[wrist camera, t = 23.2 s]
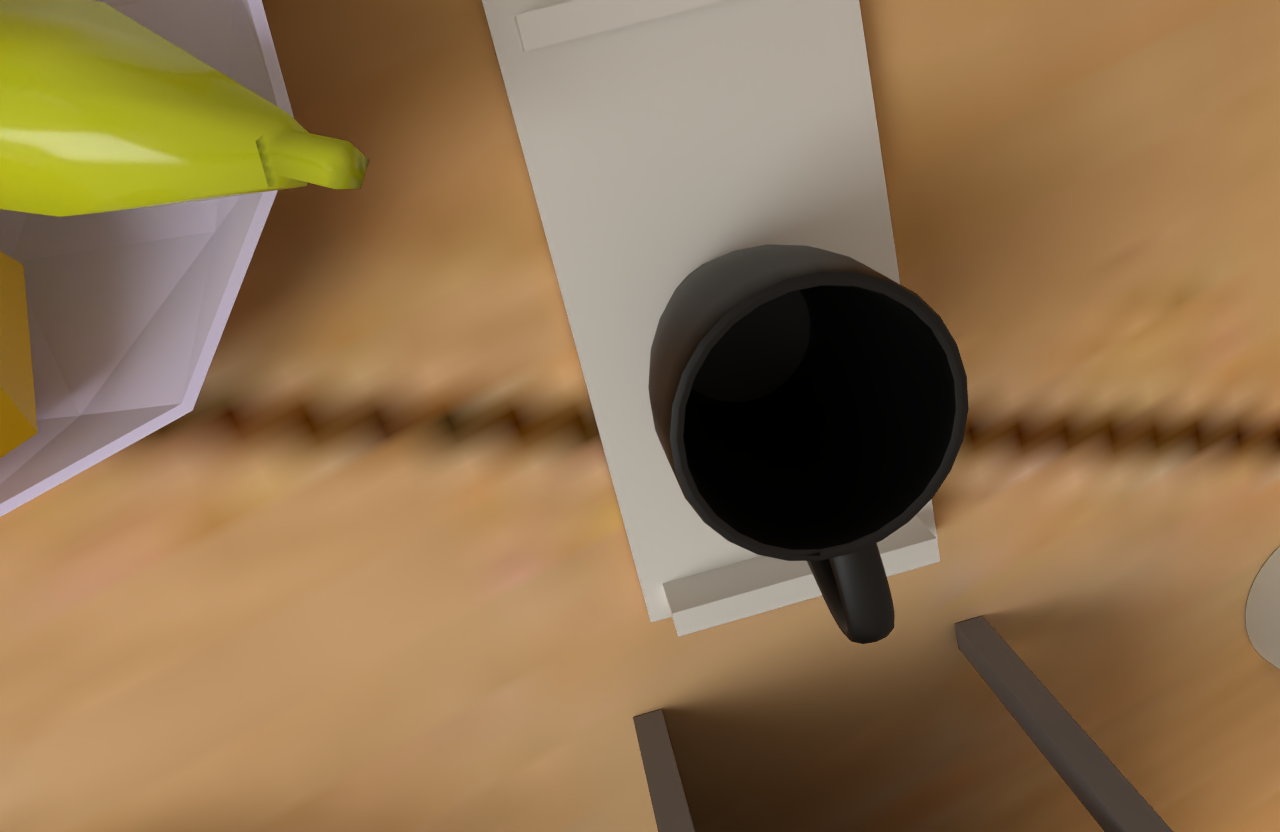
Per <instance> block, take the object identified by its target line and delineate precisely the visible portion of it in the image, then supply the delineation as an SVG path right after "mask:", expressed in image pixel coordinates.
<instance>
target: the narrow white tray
mask: <svg viewBox="0 0 1280 832" xmlns="http://www.w3.org/2000/svg"><path fill="white" fill-rule="evenodd" d="M482 3H483V7H484V11H485V14H486V18H487V22H488V25H489V29H490V33H491V36H492V40H493V44H494V47H495V51H496V55H497V58H498V62H499V66H500V69H501V73H502V77H503V81H504V84H505V88H506V92H507V95H508V99H509V103H510V106H511V110H512V114H513V117H514V121H515V125H516V128H517V132H518V136H519V139H520V143H521V147H522V150H523V154H524V158H525V161H526V165H527V169H528V173H529V176H530V180H531V184H532V187H533V191H534V195H535V198H536V202H537V206H538V209H539V213H540V217H541V220H542V224H543V228H544V231H545V235H546V239H547V242H548V246H549V250H550V253H551V257H552V261H553V265H554V268H555V272H556V276H557V279H558V283H559V287H560V290H561V294H562V298H563V301H564V305H565V309H566V312H567V316H568V320H569V323H570V327H571V331H572V334H573V338H574V342H575V346H576V349H577V353H578V357H579V360H580V364H581V368H582V371H583V375H584V379H585V382H586V386H587V390H588V393H589V397H590V401H591V404H592V408H593V412H594V415H595V419H596V423H597V426H598V430H599V434H600V438H601V441H602V445H603V449H604V452H605V456H606V460H607V463H608V467H609V471H610V474H611V478H612V482H613V485H614V489H615V493H616V496H617V500H618V504H619V507H620V511H621V515H622V518H623V522H624V526H625V530H626V533H627V537H628V541H629V544H630V548H631V552H632V555H633V559H634V563H635V566H636V570H637V574H638V577H639V581H640V585H641V588H642V592H643V596H644V599H645V603H646V607H647V611H648V614H649V618H650V621H651V622H655V621H658V620H662V619H665V618H669V617H672V619H673V622H674V625H675V628H676V631H677V634H678V637H679V636H683V635H686V634H690V633H693V632H697V631H700V630H704V629H707V628H710V627H714V626H717V625H721V624H724V623H728V622H731V621H735V620H738V619H742V618H745V617H749V616H752V615H756V614H759V613H763V612H766V611H770V610H773V609H777V608H780V607H784V606H787V605H791V604H794V603H798V602H801V601H804V600H808V599H811V598H815V597H818V596H822V593H821V591H820V589H819V587H818V585H817V583H816V580H815V578H814V576H813V574H812V572H811V569H810V567H809V565H808V563H807V561H786V560H781V559H776V558H772V557H767V556H762V555H758V554H755V553H753V552H751V551H749V550H747V549H744V548H742V547H740V546H738V545H736V544H733V543H731V542H729V541H727V540H726V539H725V538H723V537H722V536H721V535H720V534H718V533H717V532H716V531H714V530H713V529H712V528H711V527H709V526H708V525H707V524H705V523H704V522H703V521H702V519H701V518H700V517H699V515H698V514H697V513H696V512H695V510H694V509H693V508H692V506H691V505H690V504H689V503H688V501H687V500H686V499H685V497H684V495H683V493H682V491H681V488H680V486H679V484H678V482H677V479H676V477H675V475H674V473H673V470H672V468H671V466H670V464H669V461H668V459H667V457H666V454H665V452H664V450H663V448H662V445H661V443H660V441H659V438H658V436H657V433H656V431H655V426H654V421H653V415H652V409H651V403H650V397H649V389H648V385H649V369H650V353H651V347H652V343H653V339H654V336H655V333H656V329H657V326H658V323H659V319H660V317H661V315H662V313H663V311H664V310H665V308H666V305H667V303H668V302H669V300H670V298H671V296H672V294H673V293H674V291H675V289H676V288H677V287H678V286H679V285H680V283H681V282H682V281H683V280H684V279H685V278H686V277H687V275H689V274H690V273H691V272H693V271H694V270H695V269H697V268H698V267H700V266H701V265H702V264H704V263H707V262H709V261H711V260H713V259H716V258H718V257H721V256H723V255H725V254H728V253H730V252H732V251H735V250H741V249H746V248H751V247H756V246H761V245H766V244H771V245H802V246H810V247H815V248H820V249H823V250H827V251H831V252H834V253H838V254H841V255H845V256H849V257H851V258H853V259H855V260H857V261H859V262H861V263H863V264H864V265H866V266H868V267H870V268H872V269H873V270H875V271H877V272H879V273H881V274H882V275H884V276H886V277H888V278H889V279H891V280H893V281H895V282H897V283H898V284H900V278H899V271H898V264H897V257H896V251H895V244H894V237H893V230H892V223H891V216H890V209H889V202H888V196H887V189H886V182H885V175H884V168H883V161H882V154H881V147H880V141H879V134H878V127H877V120H876V113H875V106H874V99H873V92H872V86H871V79H870V72H869V65H868V58H867V51H866V44H865V37H864V31H863V24H862V17H861V10H860V3H859V0H482ZM937 541H938V539H937V532H936V526H935V519H934V512H933V505H932V499H931V500H930V501H929V502H928V503H927V504H926V505H925V506H924V507H923V508H922V509H921V510H920V511H919V512H918V513H917V514H916V515H915V516H914V517H913V518H912V519H911V520H910V521H909V522H908V523H907V524H905V525H904V526H902V527H901V528H899V529H898V530H896V531H895V532H894V533H892V534H891V535H889V536H888V537H886V538H885V539H883V540H882V541H880V542H877V546H878V549H879V552H880V556H881V559H882V562H883V566H884V569H885V573H886V577H888V576H892V575H895V574H898V573H902V572H905V571H909V570H912V569H916V568H919V567H923V566H926V565H930V564H933V563H937V562H940V557H939V550H938V543H937Z"/></svg>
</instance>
